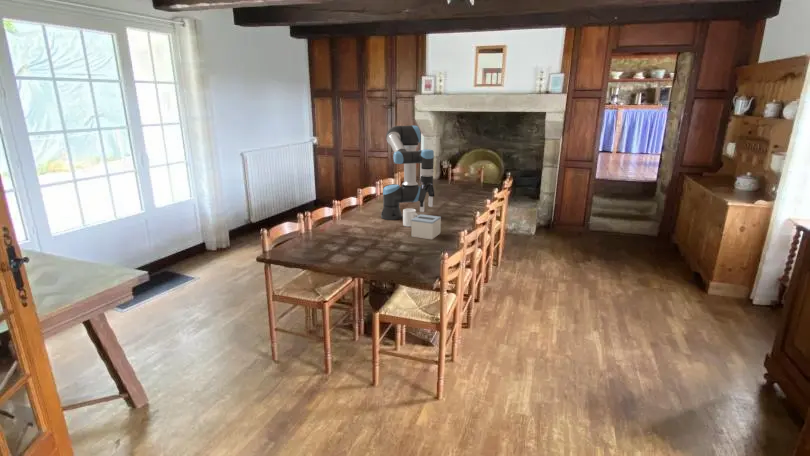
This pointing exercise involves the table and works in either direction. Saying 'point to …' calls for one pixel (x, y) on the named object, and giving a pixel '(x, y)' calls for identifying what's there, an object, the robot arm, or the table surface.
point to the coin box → (426, 226)
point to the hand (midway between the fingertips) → (426, 209)
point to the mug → (408, 217)
